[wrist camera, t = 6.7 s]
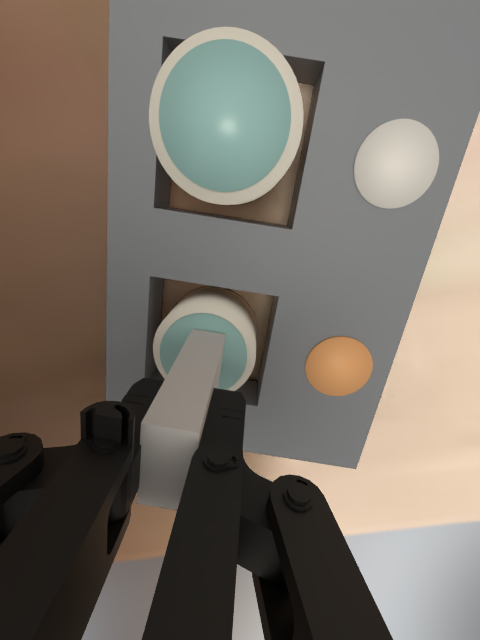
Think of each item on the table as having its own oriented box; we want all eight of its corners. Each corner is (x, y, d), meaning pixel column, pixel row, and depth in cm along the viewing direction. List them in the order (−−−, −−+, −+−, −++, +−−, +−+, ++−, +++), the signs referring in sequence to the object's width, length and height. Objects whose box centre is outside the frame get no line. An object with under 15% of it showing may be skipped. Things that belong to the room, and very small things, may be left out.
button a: (167, 360, 19) (148, 393, 16) (173, 280, 17) (153, 297, 14) (249, 373, 19) (247, 408, 16) (263, 294, 17) (264, 315, 14)
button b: (169, 195, 14) (142, 192, 11) (179, 60, 12) (149, 8, 9) (280, 212, 14) (287, 215, 11) (304, 80, 12) (321, 35, 9)
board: (123, 403, 20) (104, 431, 18) (147, -406, 10) (111, -602, 8) (344, 438, 20) (356, 471, 18) (590, -337, 10) (698, -513, 8)
